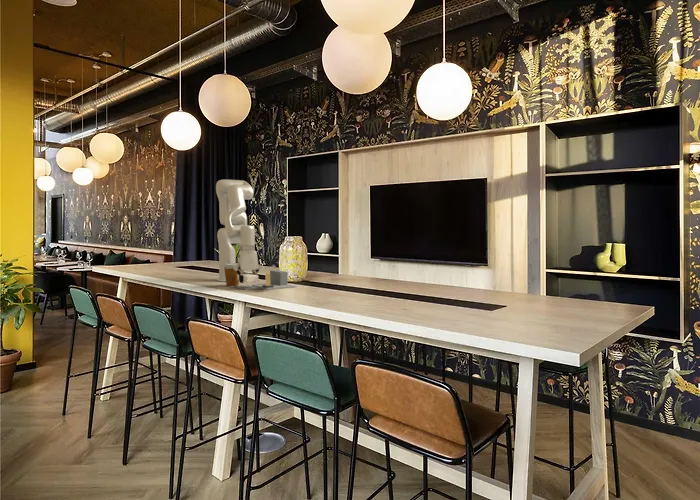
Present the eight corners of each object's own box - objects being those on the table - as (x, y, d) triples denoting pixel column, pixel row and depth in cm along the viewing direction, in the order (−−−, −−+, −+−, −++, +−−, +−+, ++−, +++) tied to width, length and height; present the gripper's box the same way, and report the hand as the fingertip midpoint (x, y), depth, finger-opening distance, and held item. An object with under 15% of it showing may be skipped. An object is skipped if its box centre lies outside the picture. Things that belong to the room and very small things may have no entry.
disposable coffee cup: (243, 284, 260) (243, 263, 259) (238, 287, 250) (237, 265, 250) (227, 284, 261) (227, 263, 260) (220, 286, 251) (220, 264, 251)
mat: (235, 287, 250) (235, 286, 250) (249, 285, 255) (249, 285, 255) (245, 290, 240) (245, 289, 240) (260, 288, 245) (260, 288, 245)
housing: (251, 286, 255) (251, 271, 255) (280, 283, 266) (280, 269, 266) (266, 289, 241) (266, 274, 241) (296, 287, 252) (296, 272, 252)
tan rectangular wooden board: (265, 287, 235) (265, 273, 235) (265, 283, 249) (265, 271, 248) (270, 287, 236) (270, 273, 235) (270, 283, 249) (270, 271, 249)
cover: (237, 279, 250) (237, 274, 250) (248, 279, 254) (248, 273, 254) (247, 282, 241) (247, 276, 240) (258, 281, 244) (258, 275, 244)
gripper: (235, 249, 238) (235, 284, 239) (265, 248, 249) (265, 281, 250) (229, 248, 244) (229, 282, 245) (259, 248, 255) (259, 280, 256)
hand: (247, 281), depth 247 cm, fingers closed on cover, 6 cm apart
